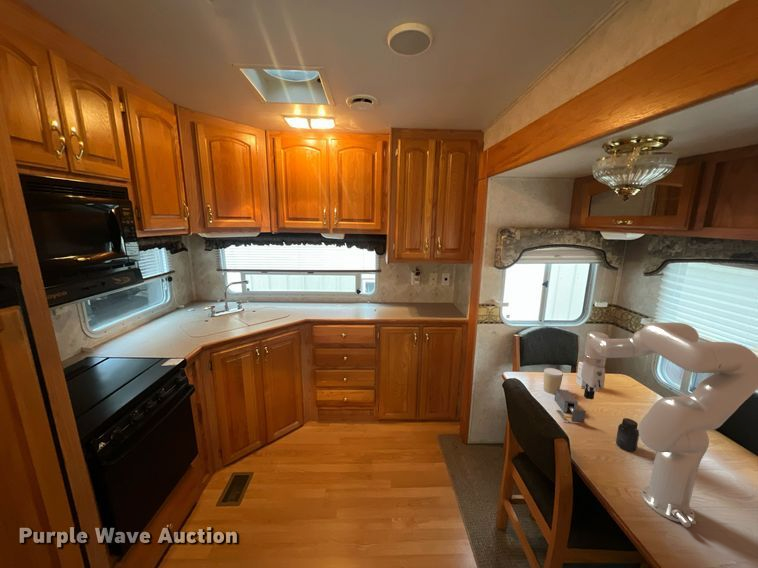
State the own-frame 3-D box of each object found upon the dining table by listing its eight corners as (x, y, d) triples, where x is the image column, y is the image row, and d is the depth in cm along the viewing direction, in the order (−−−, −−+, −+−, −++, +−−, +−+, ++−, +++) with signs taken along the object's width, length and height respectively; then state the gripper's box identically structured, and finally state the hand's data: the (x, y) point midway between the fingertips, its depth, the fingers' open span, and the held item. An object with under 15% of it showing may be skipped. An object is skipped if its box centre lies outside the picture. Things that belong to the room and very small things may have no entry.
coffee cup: (564, 395, 161) (566, 375, 159) (547, 395, 161) (550, 375, 159) (554, 386, 170) (556, 367, 168) (538, 386, 170) (540, 367, 168)
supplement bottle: (640, 453, 118) (645, 428, 116) (621, 451, 120) (626, 425, 118) (629, 442, 125) (634, 417, 123) (611, 439, 126) (616, 415, 124)
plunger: (583, 422, 136) (585, 411, 135) (564, 420, 138) (566, 409, 137) (573, 409, 147) (574, 398, 146) (555, 407, 148) (556, 396, 147)
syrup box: (580, 388, 168) (584, 365, 165) (575, 383, 174) (578, 361, 171) (591, 389, 167) (595, 366, 164) (586, 384, 173) (589, 361, 170)
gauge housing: (584, 424, 136) (586, 412, 135) (563, 422, 138) (564, 410, 137) (566, 401, 155) (567, 390, 154) (547, 399, 157) (549, 388, 156)
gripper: (614, 368, 117) (607, 409, 121) (594, 353, 132) (589, 390, 135) (594, 367, 119) (587, 406, 122) (576, 352, 133) (571, 388, 136)
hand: (588, 397), depth 129 cm, fingers closed
